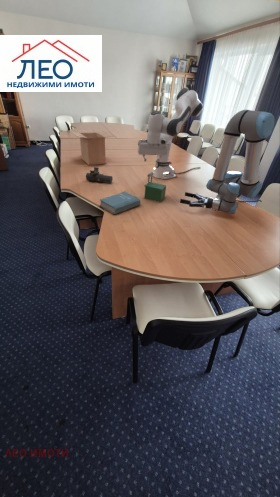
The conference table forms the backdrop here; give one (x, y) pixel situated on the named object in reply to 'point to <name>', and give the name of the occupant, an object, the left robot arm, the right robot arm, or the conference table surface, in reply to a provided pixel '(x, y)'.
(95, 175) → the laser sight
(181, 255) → the conference table surface
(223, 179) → the right robot arm
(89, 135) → the box
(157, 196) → the chest
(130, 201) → the book
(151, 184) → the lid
